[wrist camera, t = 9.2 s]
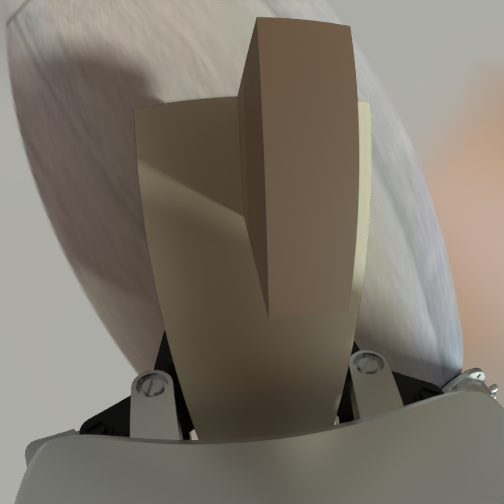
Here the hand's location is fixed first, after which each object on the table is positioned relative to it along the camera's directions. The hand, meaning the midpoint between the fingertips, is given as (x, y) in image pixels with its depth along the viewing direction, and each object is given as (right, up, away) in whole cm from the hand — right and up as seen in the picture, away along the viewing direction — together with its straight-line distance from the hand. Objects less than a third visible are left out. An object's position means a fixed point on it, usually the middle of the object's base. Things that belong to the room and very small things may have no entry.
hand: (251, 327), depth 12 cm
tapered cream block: (0, 0, +1) cm, 1 cm away
